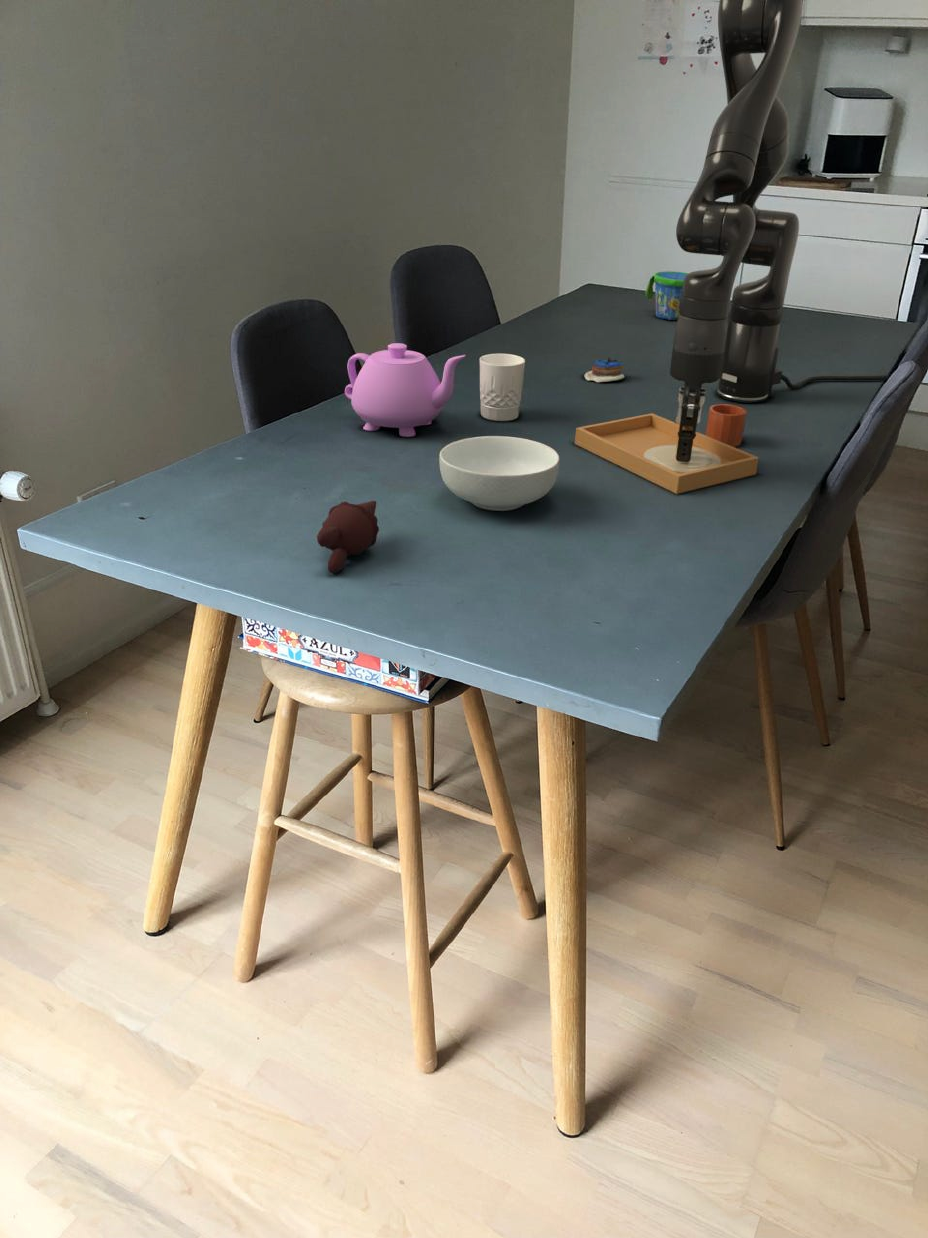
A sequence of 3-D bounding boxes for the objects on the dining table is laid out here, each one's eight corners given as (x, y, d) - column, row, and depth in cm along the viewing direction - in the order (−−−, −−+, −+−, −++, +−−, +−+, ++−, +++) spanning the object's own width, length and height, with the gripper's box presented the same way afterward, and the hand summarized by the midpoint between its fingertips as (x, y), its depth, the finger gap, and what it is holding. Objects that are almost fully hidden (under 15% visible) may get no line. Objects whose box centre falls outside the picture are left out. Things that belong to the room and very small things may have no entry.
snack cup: (709, 321, 246) (715, 278, 241) (678, 326, 241) (684, 282, 236) (663, 309, 257) (668, 267, 252) (633, 313, 252) (638, 271, 247)
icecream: (342, 480, 133) (289, 532, 121) (392, 475, 130) (342, 528, 118) (357, 526, 136) (307, 582, 124) (406, 523, 133) (359, 579, 121)
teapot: (479, 422, 175) (482, 342, 168) (444, 449, 162) (446, 365, 155) (366, 404, 182) (364, 327, 175) (324, 429, 169) (320, 347, 162)
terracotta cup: (723, 433, 173) (727, 402, 170) (748, 443, 169) (754, 411, 166) (697, 438, 170) (702, 407, 168) (723, 449, 166) (728, 417, 163)
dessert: (625, 369, 204) (625, 350, 198) (624, 395, 201) (624, 376, 195) (585, 369, 205) (584, 350, 199) (583, 396, 202) (583, 377, 197)
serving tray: (650, 428, 174) (652, 412, 173) (755, 474, 156) (758, 457, 155) (574, 443, 166) (575, 427, 165) (676, 494, 148) (679, 476, 147)
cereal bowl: (568, 488, 149) (572, 443, 146) (539, 531, 135) (542, 482, 132) (460, 472, 154) (462, 427, 150) (421, 512, 140) (421, 464, 136)
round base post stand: (683, 445, 165) (689, 401, 161) (736, 468, 156) (744, 423, 152) (627, 457, 159) (632, 412, 156) (679, 482, 150) (686, 435, 147)
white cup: (518, 424, 174) (521, 367, 169) (473, 420, 176) (475, 363, 171) (524, 410, 181) (528, 355, 176) (482, 406, 182) (484, 351, 177)
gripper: (724, 360, 142) (707, 474, 150) (724, 336, 154) (708, 443, 162) (671, 355, 143) (656, 469, 152) (675, 332, 155) (661, 438, 164)
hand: (683, 455), depth 157 cm, fingers open, 4 cm apart
